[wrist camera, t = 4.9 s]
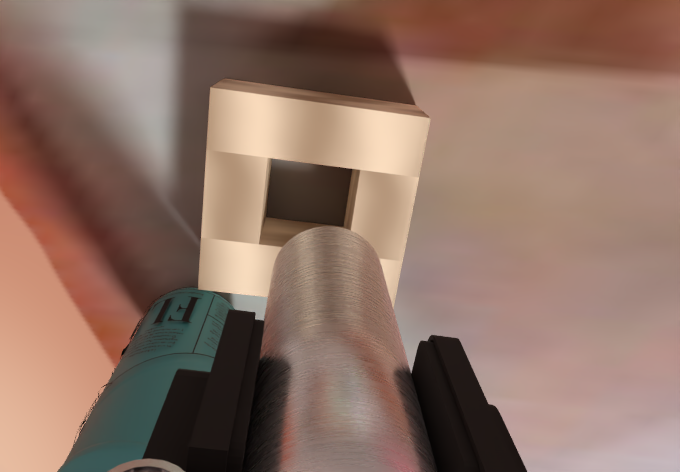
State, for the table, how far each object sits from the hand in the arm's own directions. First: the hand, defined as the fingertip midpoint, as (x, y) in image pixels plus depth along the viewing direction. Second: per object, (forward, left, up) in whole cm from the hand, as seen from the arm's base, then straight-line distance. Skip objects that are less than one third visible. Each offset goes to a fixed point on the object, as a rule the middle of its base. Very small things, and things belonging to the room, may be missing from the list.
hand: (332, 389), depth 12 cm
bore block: (0, +2, -24) cm, 24 cm away
